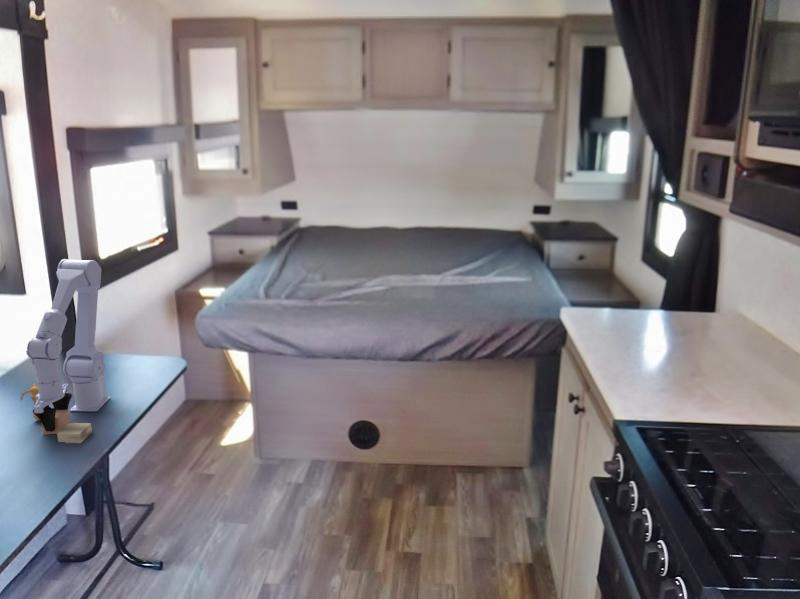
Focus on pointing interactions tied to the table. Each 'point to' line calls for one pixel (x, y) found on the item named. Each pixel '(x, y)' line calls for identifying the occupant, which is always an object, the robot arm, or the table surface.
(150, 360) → the table surface
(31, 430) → the table surface
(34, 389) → the figurine
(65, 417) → the terracotta cube
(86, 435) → the birch base block
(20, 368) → the table surface
